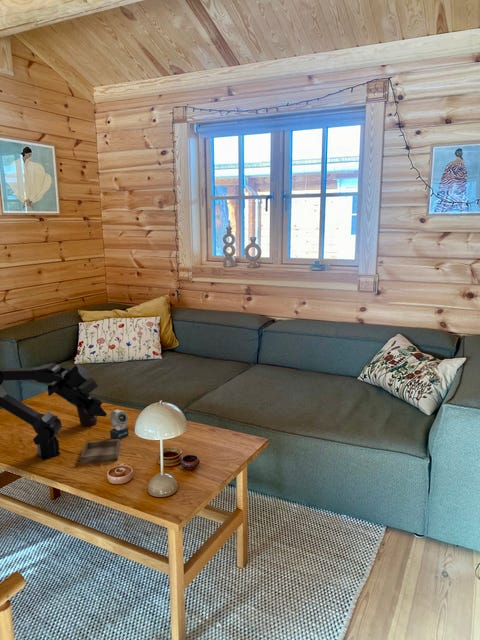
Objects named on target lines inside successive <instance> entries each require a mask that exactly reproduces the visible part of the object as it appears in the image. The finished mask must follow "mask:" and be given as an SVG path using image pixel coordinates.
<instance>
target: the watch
mask: <svg viewBox="0 0 480 640" xmlns="http://www.w3.org/2000/svg"><path fill="white" fill-rule="evenodd" d="M109 417H110V419H109V420H110V422H111V426H112V427H113V428H112V429H110V430H109V436H110V439H111V440H115V439H120V440H122V439H124V438H127V437H129V435H130V434H129V428H128V427H127V425H128V422H129V421H128V420H129V415H127V413H126V412H124V411H123V410H121V409H115V410H112V411H111V412H110V415H109Z"/></svg>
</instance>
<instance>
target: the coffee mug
mask: <svg viewBox="0 0 480 640" xmlns="http://www.w3.org/2000/svg"><path fill="white" fill-rule="evenodd" d="M88 398H89V399H91V398H92V397H91V398H90V397H88ZM76 410H77V415H78V420H79V425H80V426H82V427H81V428H83V427H90V428H92V427H91V426H93V427H95V426H96V425H97V424H98V416H93V417H91V416H90V415H88V414H86V413H85V412H84V408H78V407H76ZM94 425H95V426H94Z"/></svg>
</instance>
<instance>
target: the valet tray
mask: <svg viewBox="0 0 480 640" xmlns="http://www.w3.org/2000/svg"><path fill="white" fill-rule="evenodd" d="M121 446H122V443H121V439H107V440H105V439H104V440H94V441H85V443H84V446H83V449H82V450H81V451H82V452H81V454H80V464H82V465H83V464H95V463H104V462H115V461H118V460H119V455H120V451H121Z"/></svg>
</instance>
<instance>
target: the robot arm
mask: <svg viewBox="0 0 480 640" xmlns="http://www.w3.org/2000/svg"><path fill="white" fill-rule="evenodd" d="M5 381H35V382H37V383H41V384H46V385H47V396H49V397H50V396H51V395H53V394H56V395H57V396H59V397H60V398H63V400H65V401H66V402H67V403H69V404H70V405H72V406H74V407H76V408H77V407H78V408H84V412H85V413H86V414H88V415H90V416H91V417H93V416H97V417H107V415H108V414H107V412H106V411H105V410H104V409H103V408H102V404H103V402H102V400H100V399H99V398H96V397H95V396H94V397H91V394H90V393H91V392H93V391H94V390H96V389H97V388H98V387H99V385H98V383H97V381H96V379H94V378H92V377H91V374H90V372H89V370H88V369H87V368H85V367H83V366H81V365H80V364H78V363H77V364H75V365H74V366H73V367H72V368H70V369H69V368H65V367H62V366H60V365H59V364H58V363H55V362H51V363H46V364H43V365H40V366H36V367H35V366H34V367H33V366H32V367H3V366H2V367H0V408H2V409H4V410H5V411H6V412H8V413H10V414H12V415H14V416H15V417H17V418H18V419H20V420H22V421H23V422H25V423H26V424H29V425H30V426H31V428H33V430H34V432H35V433H36V436H34V437H33V439H32V441H33V443H34V445H36V446H37V452H36V455H37V457H38V458H40V459H41V460H42V461H45V459H46V460H48V459H51V458H54V457H57V456H59V454H60V455H61V452H60V442H59V440H58V438H57V435H58V434H59V431H60V430H61V429H62V420H61V419H60V418H59V416H58V415H55V414H53V413H52V412H50V411H47V412H46V413H45V414H44V413H40V412H38V411H36V410H35V409H33V408H31V407H30V406H28V405H26V404H25V403H24V402H21V401H20V400H18V399H16V398H15V397H13V396H11V395H9V394H8V393H7V392H6V390H5V388H4V387H3V386H2V385H3V383H5ZM90 397H91V399H89V398H90Z"/></svg>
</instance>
